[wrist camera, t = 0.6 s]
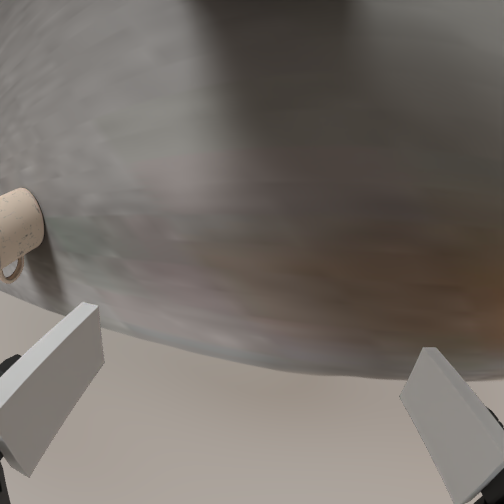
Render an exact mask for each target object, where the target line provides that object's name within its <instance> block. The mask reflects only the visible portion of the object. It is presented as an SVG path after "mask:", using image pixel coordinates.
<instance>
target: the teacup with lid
mask: <svg viewBox="0 0 504 504" xmlns="http://www.w3.org/2000/svg"><path fill="white" fill-rule="evenodd" d="M43 237H44V222H43V217H42V213H41V210H40V207H39V205H38V203H37V201H36V199H35V198H34V196H33V195H32V194H31V193H30V192H29V191H28V190H27V189H25V188H18V189H16V190H13V191H11V192H8V193H6V194H4V195H1V196H0V280H1V281H3V282H4V283H6V284H10V283H13V282H14V281H15V280H17V278H18V277H19V276H20V274H21V272H22V270H23V267H24V255H25V254H26V253H28V252H29V251H31V250H33V249H34V248H36V247H38V246H39V245H40V244H41V242H42V240H43ZM17 259H18V264H17V267H16V269H15V271H14V272H13V274H12V275H11V276H9V277H7V278H5V276H4V274H3V271H2V269H3V268H4V267H6V266H7V265H9V264H10V263H12V262H14V261H15V260H17Z"/></svg>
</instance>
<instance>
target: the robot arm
mask: <svg viewBox="0 0 504 504" xmlns="http://www.w3.org/2000/svg"><path fill="white" fill-rule="evenodd" d="M104 363H105V361H104V355H103V346H102V337H101V327H100V316H99V306H97V305H93V304H89V303H85V302H82V303H81V304H80V305H79V306H77V307H76V308H75V309H74V310H73V311H72V312H70V313H69V314H68V315H67V316H66V317H65V318H64V319H62V320H61V321H60V322H59V323H58V324H57V325H56V326H54V327H53V328H52V329H51V330H50V331H49V332H48V333H47V334H45V335H44V336H43V337H42V338H41V339H40V340H39V341H38V342H37V343H36V344H35V345H34V346H33V347H31V348H30V349H29V350H28V351H27V352H26V353H25V354H24V355H23V356H20V355H18V354H17V355H14V356H13V357H10V358H8V359H6V360H5V361H3V363H1V364H0V460H1V459H2V457H3V456H4V458H5V459H6V460H7V462H8V463H9V464H10V466H11V467H12V468H14V469H16V470H17V471H19V472H20V473H22V474H24V475H25V476H27V477H30V476H31V474H32V472H33V471H34V469H35V467H36V466H37V464H38V462H39V461H40V459H41V457H42V456H43V454H44V453H45V451H46V449H47V448H48V446H49V444H50V443H51V441H52V440H53V438H54V437H55V435H56V434H57V432H58V430H59V429H60V427H61V426H62V424H63V423H64V421H65V420H66V418H67V416H68V415H69V414H70V412H71V411H72V409H73V408H74V406H75V405H76V403H77V402H78V400H79V399H80V397H81V396H82V394H83V393H84V391H85V390H86V389H87V387H88V385H89V384H90V383H91V381H92V380H93V378H94V377H95V376H96V374H97V373H98V371H99V370H100V369H101V367H102V366H103V364H104ZM399 397H400V399H401V401H402V402H403V404H404V406H405V408H406V410H407V411H408V413H409V415H410V417H411V419H412V421H413V423H414V424H415V426H416V428H417V430H418V432H419V434H420V436H421V438H422V440H423V442H424V444H425V445H426V448H427V449H428V451H429V453H430V455H431V457H432V459H433V461H434V463H435V465H436V467H437V469H438V471H439V474H440V475H441V477H442V480H443V482H444V484H445V486H446V488H447V490H448V492H449V494H450V497H451V498H452V501H453V503H454V504H465V503H467V502H469V501H471V500H472V499H473V498H474V497H475V496H476V495H477V494H478V493H479V492H481V493H482V495H483V496H482V497H481V498H480V499H478V500H477V501H476V502H475V503H474V504H504V428H503V425H502V423H501V422H499V421H498V418H497V417H496V416H495V414H494V413H493V412H492V411H491V410H490V409H488V408H487V407H486V406H485V405H484V404H483V403H482V401H481V400H480V399H479V398H478V397H477V395H476V394H475V393H474V392H473V390H472V389H471V388H470V387H469V385H468V384H467V383H466V382H465V381H464V379H463V378H462V377H461V376H460V375H459V373H458V372H457V371H456V370H455V369H454V368H453V366H452V365H451V364H450V363H449V362H448V361H447V359H446V358H445V357H444V356H443V355H442V354H441V353H440V351H439V350H438V349H437V348H436V347H423V348H422V350H421V353H420V355H419V357H418V359H417V361H416V364H415V366H414V368H413V370H412V372H411V374H410V376H409V378H408V380H407V382H406V385H405V386H404V388H403V390H402V393H401V394H400V396H399ZM0 504H10V500H9V495H8V491H7V487H6V482H5V477H4V472H3V468H2V465H1V462H0Z"/></svg>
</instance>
